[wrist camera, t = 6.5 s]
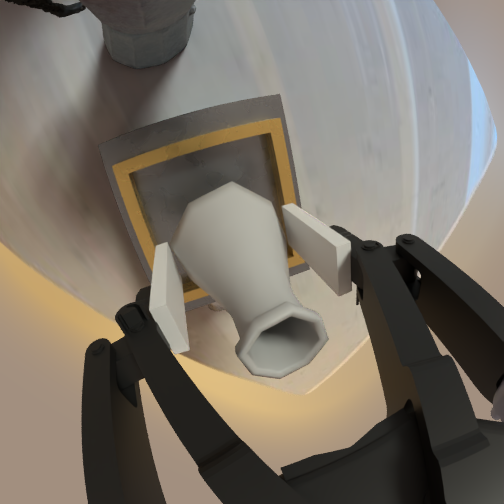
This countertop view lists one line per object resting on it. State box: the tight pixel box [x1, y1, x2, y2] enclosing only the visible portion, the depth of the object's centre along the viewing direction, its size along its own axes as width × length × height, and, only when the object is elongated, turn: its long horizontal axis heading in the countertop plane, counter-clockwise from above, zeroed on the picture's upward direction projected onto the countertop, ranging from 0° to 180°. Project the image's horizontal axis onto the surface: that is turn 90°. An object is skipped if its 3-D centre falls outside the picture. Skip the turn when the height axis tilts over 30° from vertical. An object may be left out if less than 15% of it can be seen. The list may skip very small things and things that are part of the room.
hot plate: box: [98, 94, 310, 312], centre depth 25 cm, size 19×15×8 cm
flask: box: [169, 181, 329, 379], centre depth 13 cm, size 7×7×10 cm
